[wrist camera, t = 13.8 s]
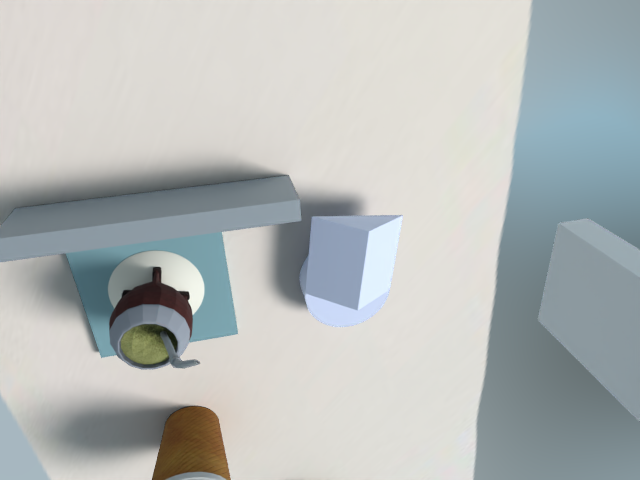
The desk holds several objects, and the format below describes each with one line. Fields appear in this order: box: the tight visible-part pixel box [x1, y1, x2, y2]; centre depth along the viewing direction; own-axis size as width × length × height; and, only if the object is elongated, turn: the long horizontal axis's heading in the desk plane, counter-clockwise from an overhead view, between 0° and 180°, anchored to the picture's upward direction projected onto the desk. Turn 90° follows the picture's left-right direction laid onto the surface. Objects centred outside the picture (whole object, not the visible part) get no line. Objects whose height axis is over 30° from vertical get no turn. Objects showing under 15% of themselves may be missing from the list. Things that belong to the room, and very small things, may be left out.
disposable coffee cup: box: [152, 406, 231, 480], centre depth 53 cm, size 10×10×12 cm
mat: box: [66, 232, 238, 358], centre depth 48 cm, size 14×14×1 cm
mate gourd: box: [109, 267, 200, 369], centre depth 41 cm, size 8×8×15 cm
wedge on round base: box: [300, 215, 403, 327], centre depth 49 cm, size 9×7×13 cm
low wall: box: [0, 175, 301, 262], centre depth 42 cm, size 2×24×6 cm, turn 92°
